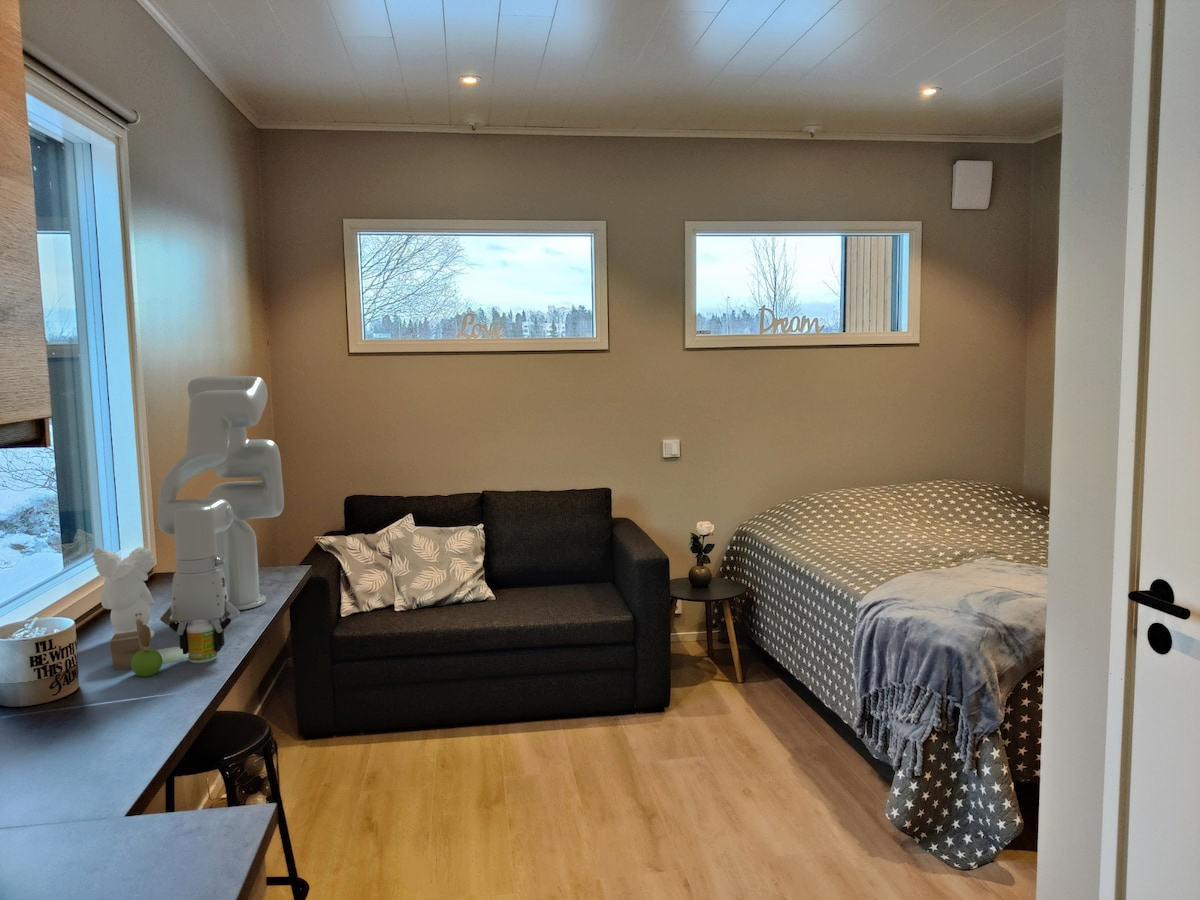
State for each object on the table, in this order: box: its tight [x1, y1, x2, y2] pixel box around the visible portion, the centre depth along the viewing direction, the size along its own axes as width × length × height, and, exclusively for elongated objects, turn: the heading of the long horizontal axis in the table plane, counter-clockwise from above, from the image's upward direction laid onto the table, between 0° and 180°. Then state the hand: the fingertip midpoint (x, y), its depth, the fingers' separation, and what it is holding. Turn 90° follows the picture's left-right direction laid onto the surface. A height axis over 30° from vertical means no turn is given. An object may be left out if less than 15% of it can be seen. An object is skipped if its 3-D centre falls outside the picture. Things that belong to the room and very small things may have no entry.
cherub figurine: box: [91, 546, 156, 641], centre depth 183 cm, size 12×12×22 cm
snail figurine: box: [130, 613, 163, 678], centre depth 164 cm, size 5×6×12 cm
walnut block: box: [109, 631, 142, 671], centre depth 169 cm, size 5×5×6 cm
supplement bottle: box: [187, 620, 218, 664], centre depth 172 cm, size 5×5×10 cm
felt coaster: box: [156, 646, 189, 665], centre depth 175 cm, size 10×10×1 cm
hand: (202, 650), depth 172 cm, fingers closed on supplement bottle, 5 cm apart
